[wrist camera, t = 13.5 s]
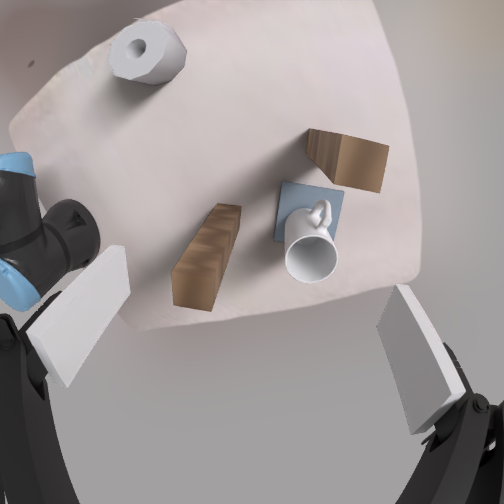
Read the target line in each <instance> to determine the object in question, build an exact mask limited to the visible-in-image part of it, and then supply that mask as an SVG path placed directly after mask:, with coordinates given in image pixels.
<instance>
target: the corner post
mask: <svg viewBox="0 0 504 504" xmlns="http://www.w3.org/2000/svg"><path fill="white" fill-rule="evenodd" d="M240 216H241V206H236V205H227V204H218V203H217V205H216V206H215V208H214V209H213V211H212V212H211V213H210V215H209V216H208V218H207V219H206V221H205V222H204V223H203V225H202V226H201V228H200V229H199V231H198V232H197V234H196V235H195V237H194V238H193V240H192V241H191V243H190V244H189V246H188V247H187V249H186V250H185V252H184V253H183V255H182V256H181V258H180V259H179V261H178V262H177V264H176V265H175V267H174V269H173V270H172V272H171V277H172V292H173V305H175V306H180V307H186V308H192V309H198V310H203V311H210V312H211V311H212V308H213V305H214V302H215V299H216V296H217V293H218V290H219V287H220V284H221V281H222V278H223V275H224V272H225V269H226V266H227V263H228V260H229V257H230V254H231V252H232V249H233V246H234V243H235V240H236V237H237V234H238V231H239V227H240Z"/></svg>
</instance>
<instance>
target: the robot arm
mask: <svg viewBox="0 0 504 504" xmlns="http://www.w3.org/2000/svg"><path fill="white" fill-rule="evenodd" d="M35 178H36V175H35V174H34V168H33V161H32V157H31V155H30V154H29V153H27V152H14V153H7V154H1V155H0V298H1V299H2V300H3V301H4V302H5V303H6V304H7V305H9V306H10V307H11V308H13V309H15V310H17V311H20V312H24V311H27V310H29V309H30V308H31V307H32V306H34V305H35V304H36V303H38V302H39V301H40V299H41V298H42V297H43V296H44V295H45V294H46V293H47V292H48V291H49V290H50V289H51V288H52V287H53V286H54V285H55V284H56V283H57V282H58V281H59V280H60V279H61V278H62V277H63V276H64V275H65V274H66V273H68V272H70V271H74V270H76V269H79V268H83V267H85V266H87V265H88V264H89V263H91V262H92V261H93V260H94V259H95V258H96V256H97V254H98V252H99V248H100V235H99V230H98V227H97V224H96V222H95V220H94V218H93V216H92V215H91V213H90V212H89V211H88V210H87V209H86V208H85V207H84V206H83V205H82V204H81V203H79V202H77V201H75V200H71V199H66V200H62V201H60V202H58V203H56V204H55V205H53V206H52V207H51V208H50V210H49V211H48V212H47V214H46V215H45V216H44V217H43V219H42V218H41V213H40V207H39V202H38V195H37V189H36V181H35ZM130 294H131V291H130V284H129V278H128V270H127V263H126V255H125V246H118V245H111V246H109V247H108V248H107V249H106V250H105V251H104V252H103V253H102V254H101V255H100V256H98V257H97V258H96V259H95V260H94V261H93V262H92V263H91V264H90V265H89V266H88V267H87V268H86V269H85V270H84V271H83V272H82V273H81V274H79V275H78V277H76V278H75V280H73V281H72V282H71V283H70V285H68V286H67V287H66V288H65V290H64V291H59V292H57V293H55V294H53V295H52V296H50V297H49V298H48V299H47V300H46V301H45V302H44V304H43V305H42V306H41V307H40V308H39V309H38V311H36V312H35V313H34V314H33V315H32V316H31V318H30V319H29V320H28V321H27V322H26V323H25V324H24V325H23V326H22V328H21V329H20V330H19V331H18V329H17V327H16V325H15V323H14V321H13V319H12V317H11V316H10V315H8V314H6V313H5V314H0V504H5V495H6V498H7V502H8V504H80V503H79V501H78V499H77V496H76V494H75V491H74V488H73V486H72V483H71V480H70V478H69V475H68V472H67V469H66V466H65V463H64V460H63V456H62V453H61V449H60V446H59V442H58V438H57V434H56V430H55V425H54V421H53V416H52V411H51V406H50V399H49V393H48V386H47V382H46V379H45V376H46V375H47V373H49V375H50V377H51V378H52V380H53V381H54V382H55V383H57V384H59V385H61V386H63V387H65V388H68V387H69V385H70V383H71V382H72V380H73V379H74V377H75V375H76V374H77V372H78V370H79V369H80V367H81V365H82V364H83V362H84V361H85V359H86V358H87V356H88V355H89V353H90V351H91V350H92V348H93V347H94V345H95V344H96V342H97V341H98V339H99V338H100V336H101V335H102V333H103V332H104V330H105V329H106V327H107V326H108V325H109V323H110V322H111V320H112V319H113V317H114V316H115V314H116V313H117V312H118V310H119V309H120V307H121V306H122V305H123V303H124V302H125V300H126V299H127V298H128V296H129V295H130ZM376 327H377V330H378V332H379V335H380V338H381V341H382V343H383V346H384V349H385V351H386V354H387V357H388V360H389V363H390V366H391V369H392V372H393V375H394V378H395V381H396V384H397V387H398V391H399V394H400V397H401V401H402V404H403V408H404V411H405V415H406V418H407V422H408V425H409V430H410V433H411V435H413V434H418V433H423V432H426V431H427V430H428V429H429V428H430V427H432V426H433V425H434V426H435V429H436V430H435V431H434V432H433V433H432V434H431V435H429V436H428V437H427V438H426V439H425V440H424V441H423V442H422V443H421V444H422V445H423V444H424V443H426V442H427V441H428V440H429V442H428V444H427V445H426V448H425V451H424V453H423V455H422V457H421V459H420V461H419V463H418V465H417V467H416V469H415V471H414V473H413V474H412V476H411V478H410V480H409V482H408V483H407V485H406V487H405V489H404V490H403V493H402V494H401V495H400V497H399V499H398V500H397V502H396V503H395V504H504V401H503V402H502V403H501V404H500V405H499V406H496V405H490V404H489V402H488V400H487V399H486V398H485V397H484V396H483V395H481V394H477V393H476V394H474V393H473V391H472V389H471V387H470V385H469V383H468V381H467V378H466V376H465V374H464V372H463V370H462V368H460V367H461V366H460V364H459V362H458V361H457V359H456V357H455V355H454V353H453V351H452V350H451V349H450V348H449V347H448V345H446V343H442V342H441V340H440V338H439V336H438V334H437V332H436V331H435V329H434V327H433V325H432V324H431V322H430V320H429V319H428V317H427V315H426V313H425V312H424V310H423V308H422V307H421V305H420V304H419V302H418V301H417V299H416V297H415V296H414V294H413V293H412V291H411V289H410V288H409V286H408V285H401V284H395V286H394V289H393V291H392V294H391V296H390V298H389V301H388V303H387V305H386V307H385V309H384V312H383V314H382V316H381V318H380V320H379V323H378V324H377V326H376ZM494 441H496V445H495V447H494V448H493V449H492V450H489V445H490V444H492V443H493V442H494ZM4 491H5V494H4Z"/></svg>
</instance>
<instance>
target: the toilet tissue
mask: <svg viewBox="0 0 504 504" xmlns="http://www.w3.org/2000/svg"><path fill="white" fill-rule="evenodd" d="M140 20H142V21H140V22H137V23H135V24H132V25H130V26H128V27H126V28H124V29H123V30H122V31H121V33H120V34H119V35H118V36H117V37H116V39H115V40H114V41H113V42H112V43H111V47H110V52H109V57H108V63H109V65H110V67H111V69H112V71H113V73H114V75H115V76H118V77H122V78H125V79H128V80H132V81H137V82H142V83H147V84H152V85H158V84H161V83H164V82H168V81H171V80H172V79H173V78H174V77H175V76H176V75H177V74H178V73H179V72H180V71H181V70H182V69H183V68H184V65H185V59H186V54H187V50H186V48H185V46H184V45H183V43H182V41H181V40H180V38H179V37H178V35H177V33H176V32H175V30H174V28H173V27H171V26H169V25H168V24H166V23H164V22H162V21H155V20H147V19H140ZM143 20H145V21H143ZM149 21H150V22H149Z"/></svg>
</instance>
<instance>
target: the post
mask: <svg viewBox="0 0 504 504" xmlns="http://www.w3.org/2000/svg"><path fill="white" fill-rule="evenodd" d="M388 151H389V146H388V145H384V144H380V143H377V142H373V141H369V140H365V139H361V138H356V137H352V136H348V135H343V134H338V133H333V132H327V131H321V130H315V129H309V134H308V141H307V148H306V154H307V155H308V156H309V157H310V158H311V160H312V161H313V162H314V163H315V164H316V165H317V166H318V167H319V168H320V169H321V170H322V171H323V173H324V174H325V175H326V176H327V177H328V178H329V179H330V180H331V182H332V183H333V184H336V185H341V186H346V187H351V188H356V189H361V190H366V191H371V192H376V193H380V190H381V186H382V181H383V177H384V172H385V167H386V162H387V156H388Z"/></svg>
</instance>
